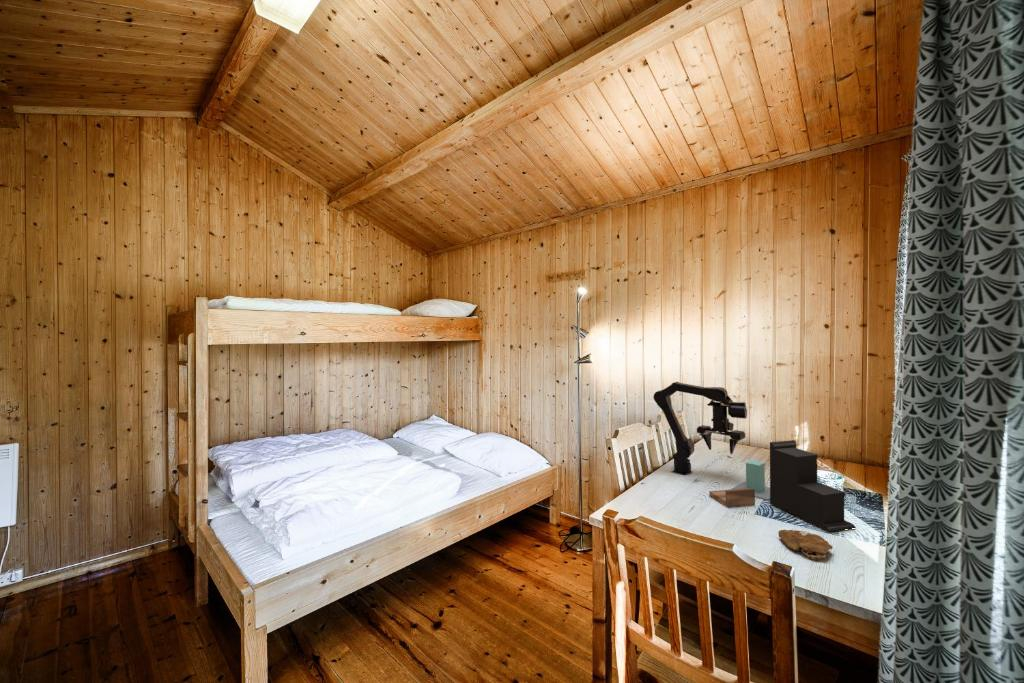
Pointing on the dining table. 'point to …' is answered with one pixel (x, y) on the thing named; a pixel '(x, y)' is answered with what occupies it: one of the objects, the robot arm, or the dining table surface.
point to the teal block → (755, 476)
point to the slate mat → (762, 495)
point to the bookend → (804, 488)
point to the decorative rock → (806, 543)
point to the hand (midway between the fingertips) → (720, 451)
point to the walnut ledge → (734, 497)
